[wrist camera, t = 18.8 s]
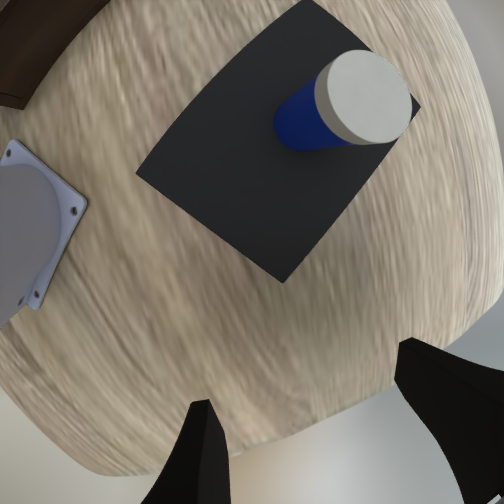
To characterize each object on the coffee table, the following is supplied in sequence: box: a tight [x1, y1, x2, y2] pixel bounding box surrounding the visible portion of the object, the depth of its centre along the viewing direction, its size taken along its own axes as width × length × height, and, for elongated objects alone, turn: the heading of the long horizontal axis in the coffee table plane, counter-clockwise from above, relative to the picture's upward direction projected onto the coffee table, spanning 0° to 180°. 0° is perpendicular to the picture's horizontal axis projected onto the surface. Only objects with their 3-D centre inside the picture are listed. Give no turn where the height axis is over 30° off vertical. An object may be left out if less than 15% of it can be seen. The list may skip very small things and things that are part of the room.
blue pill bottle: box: [273, 50, 412, 151], centre depth 11 cm, size 3×3×8 cm
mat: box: [136, 0, 421, 283], centre depth 15 cm, size 16×11×1 cm
